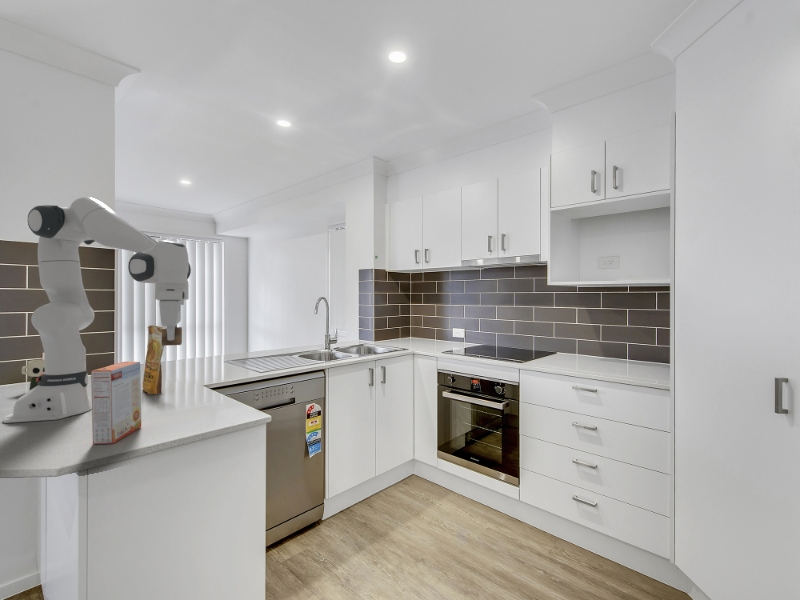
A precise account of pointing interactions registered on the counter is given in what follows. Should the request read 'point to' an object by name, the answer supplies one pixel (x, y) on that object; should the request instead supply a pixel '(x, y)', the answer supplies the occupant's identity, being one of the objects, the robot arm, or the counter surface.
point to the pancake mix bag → (153, 361)
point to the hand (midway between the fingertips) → (171, 339)
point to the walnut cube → (176, 341)
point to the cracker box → (115, 401)
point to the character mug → (34, 371)
